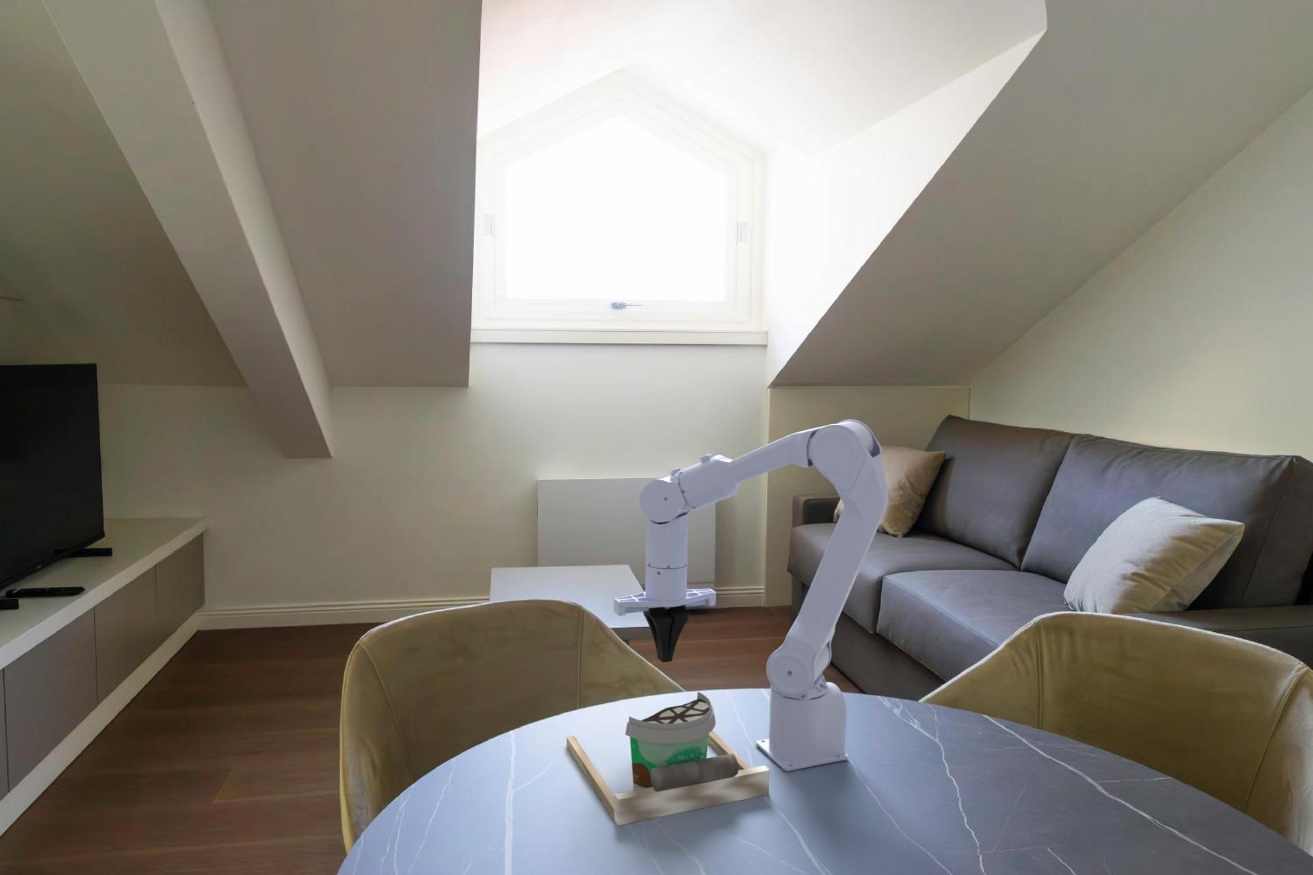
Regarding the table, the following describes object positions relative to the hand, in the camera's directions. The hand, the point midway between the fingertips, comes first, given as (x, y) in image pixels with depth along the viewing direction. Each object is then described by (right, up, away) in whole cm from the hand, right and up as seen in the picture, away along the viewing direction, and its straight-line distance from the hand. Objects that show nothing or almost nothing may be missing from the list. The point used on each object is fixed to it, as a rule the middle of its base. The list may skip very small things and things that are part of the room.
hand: (664, 659), depth 118 cm
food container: (+2, -12, -17) cm, 21 cm away
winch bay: (-1, -11, -11) cm, 15 cm away
